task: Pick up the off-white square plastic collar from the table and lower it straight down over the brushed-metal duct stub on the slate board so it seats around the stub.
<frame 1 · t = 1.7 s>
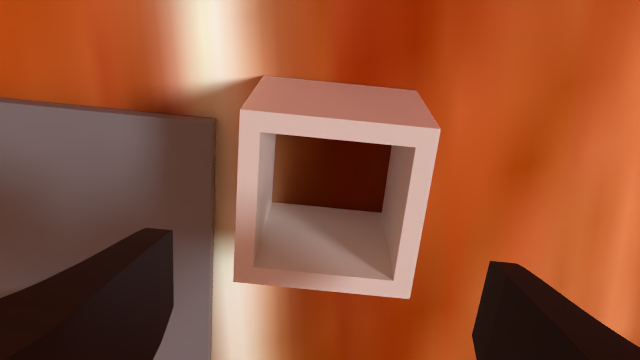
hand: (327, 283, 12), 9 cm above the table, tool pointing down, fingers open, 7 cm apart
duct board: (64, 302, 23), on the table
collar: (332, 155, 21), on the table
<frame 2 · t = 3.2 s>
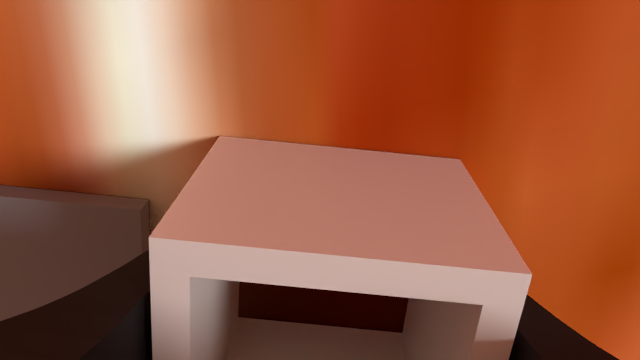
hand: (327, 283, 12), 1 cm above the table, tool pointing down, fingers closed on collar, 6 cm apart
collar: (328, 253, 13), on the table, touching gripper
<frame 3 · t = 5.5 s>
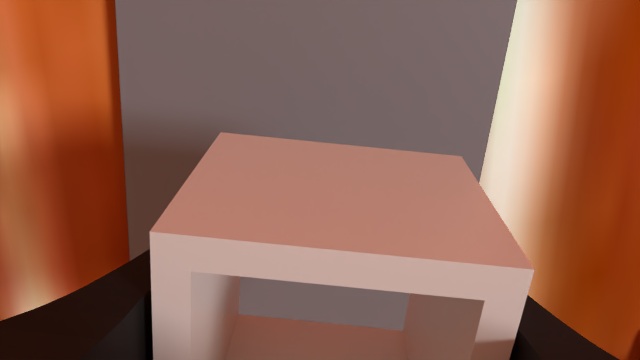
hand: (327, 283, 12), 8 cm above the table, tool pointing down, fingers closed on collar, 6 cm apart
duct board: (300, 178, 20), on the table
collar: (329, 250, 13), point 7 cm above the table, touching gripper
when the fingers open (3 cm above the table, at t = 7.8 s): collar drops 1 cm, resting on duct board.
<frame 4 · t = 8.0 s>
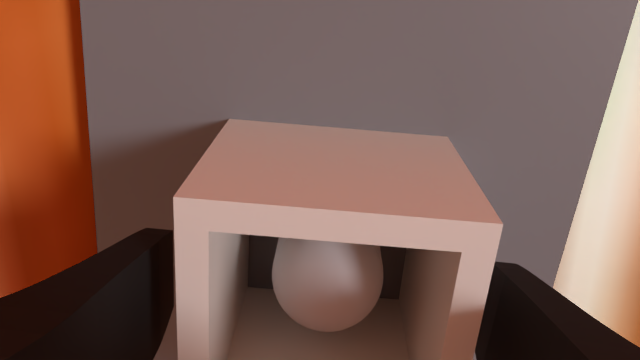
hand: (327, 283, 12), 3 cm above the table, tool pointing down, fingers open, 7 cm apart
duct board: (329, 218, 15), on the table
collar: (329, 225, 15), point 1 cm above the table, touching duct board
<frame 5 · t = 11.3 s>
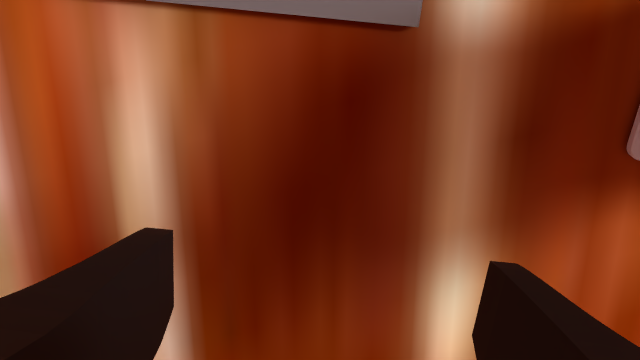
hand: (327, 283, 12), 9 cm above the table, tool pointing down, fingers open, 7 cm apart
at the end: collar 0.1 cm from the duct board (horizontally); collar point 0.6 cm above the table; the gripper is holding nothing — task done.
